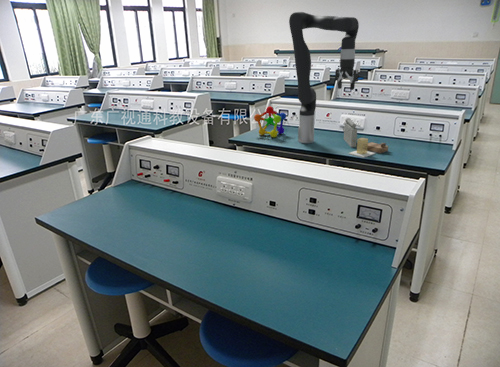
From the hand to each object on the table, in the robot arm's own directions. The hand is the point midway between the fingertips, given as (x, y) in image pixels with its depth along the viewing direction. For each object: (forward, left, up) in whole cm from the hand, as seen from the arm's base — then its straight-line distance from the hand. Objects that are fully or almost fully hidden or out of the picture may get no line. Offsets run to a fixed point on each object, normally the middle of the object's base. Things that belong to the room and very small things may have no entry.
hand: (345, 89), depth 199 cm
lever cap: (+14, 0, -34) cm, 36 cm away
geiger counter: (-8, +14, -34) cm, 38 cm away
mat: (+14, 0, -34) cm, 37 cm away
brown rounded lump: (+15, +11, -34) cm, 39 cm away
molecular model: (-56, -9, -34) cm, 66 cm away
